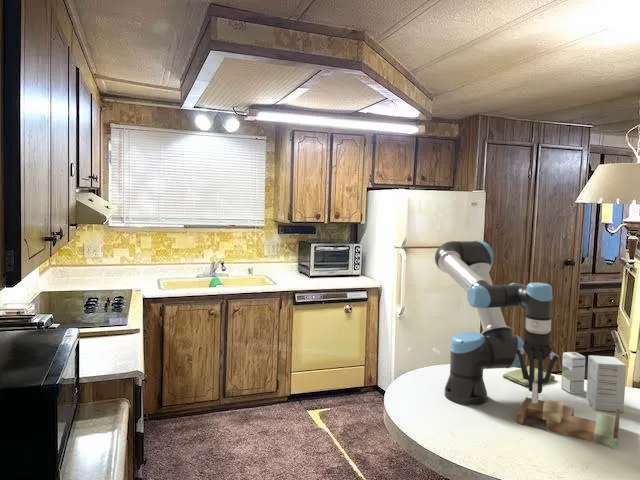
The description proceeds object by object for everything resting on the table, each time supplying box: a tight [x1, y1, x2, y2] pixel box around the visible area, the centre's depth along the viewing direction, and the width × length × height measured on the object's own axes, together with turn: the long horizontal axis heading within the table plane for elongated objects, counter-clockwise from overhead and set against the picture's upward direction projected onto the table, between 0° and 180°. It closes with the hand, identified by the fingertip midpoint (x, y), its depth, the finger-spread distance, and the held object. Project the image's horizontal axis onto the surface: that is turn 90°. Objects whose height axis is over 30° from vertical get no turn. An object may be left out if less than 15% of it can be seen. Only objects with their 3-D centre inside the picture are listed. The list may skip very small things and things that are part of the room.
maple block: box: [543, 398, 564, 423], centre depth 150 cm, size 5×5×5 cm
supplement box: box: [585, 354, 627, 413], centre depth 166 cm, size 10×9×17 cm
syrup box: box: [561, 351, 586, 395], centre depth 179 cm, size 6×6×14 cm
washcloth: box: [502, 365, 556, 388], centre depth 192 cm, size 13×18×3 cm
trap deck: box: [515, 396, 621, 450], centre depth 152 cm, size 28×16×6 cm, turn 56°
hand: (535, 401), depth 154 cm, fingers closed
